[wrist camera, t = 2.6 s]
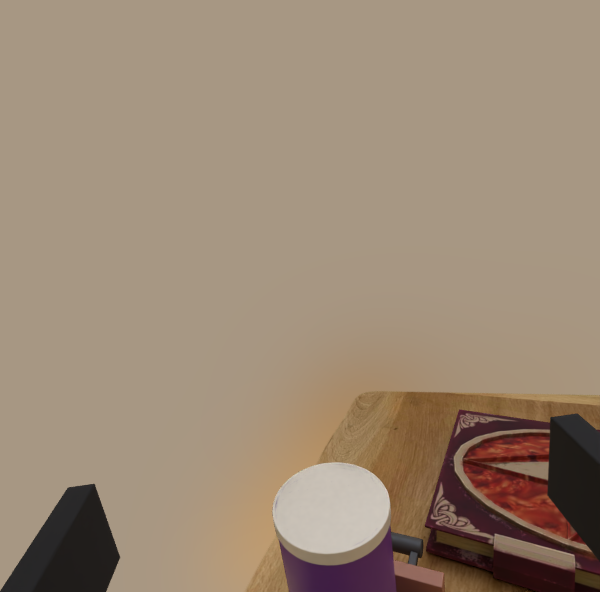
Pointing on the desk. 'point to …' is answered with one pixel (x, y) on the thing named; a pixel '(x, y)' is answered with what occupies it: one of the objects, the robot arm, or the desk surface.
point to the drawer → (414, 567)
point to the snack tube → (335, 530)
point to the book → (506, 507)
